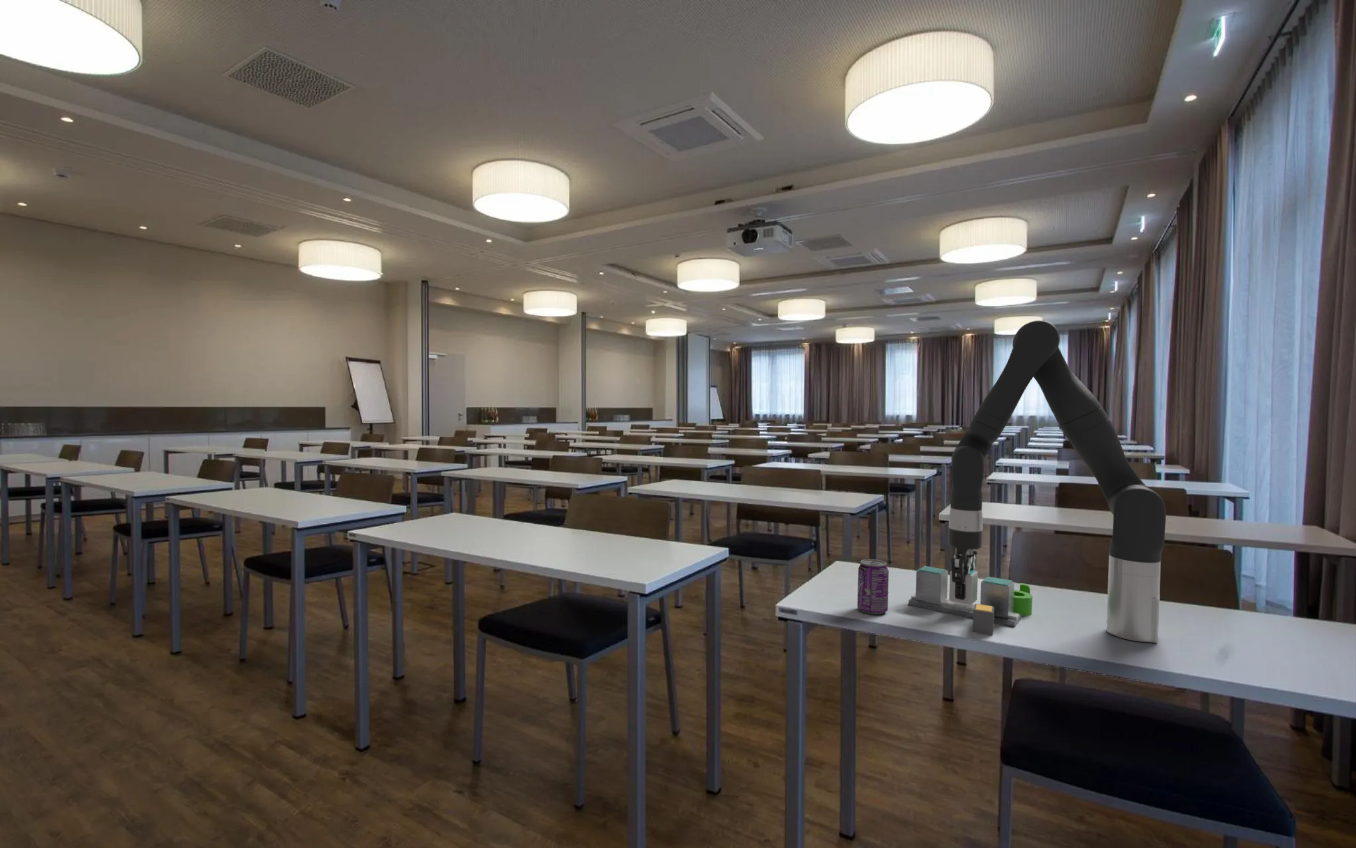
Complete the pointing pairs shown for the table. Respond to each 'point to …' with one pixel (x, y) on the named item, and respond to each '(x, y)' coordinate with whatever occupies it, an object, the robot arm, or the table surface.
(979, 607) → the block
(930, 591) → the rail
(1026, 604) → the tape dispenser
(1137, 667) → the table surface
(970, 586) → the block
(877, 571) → the beverage can
